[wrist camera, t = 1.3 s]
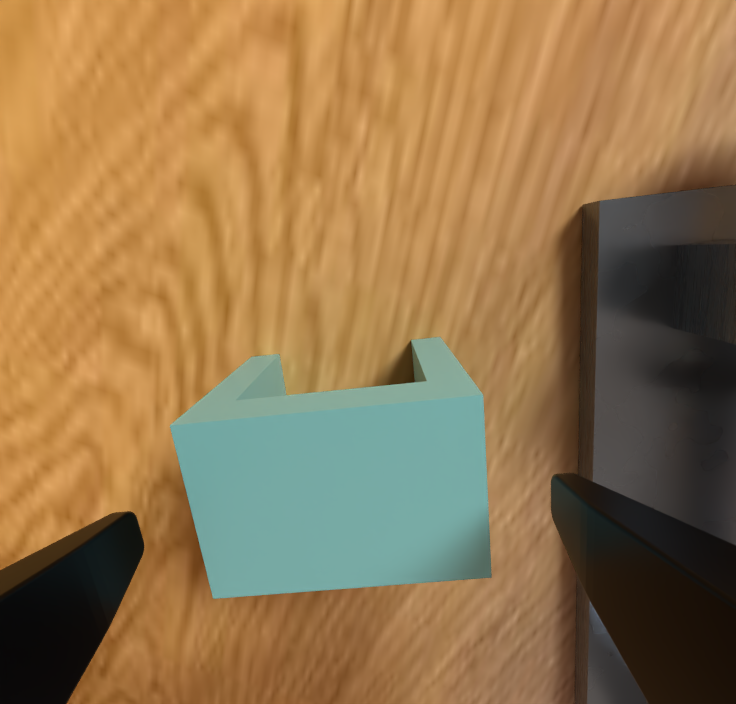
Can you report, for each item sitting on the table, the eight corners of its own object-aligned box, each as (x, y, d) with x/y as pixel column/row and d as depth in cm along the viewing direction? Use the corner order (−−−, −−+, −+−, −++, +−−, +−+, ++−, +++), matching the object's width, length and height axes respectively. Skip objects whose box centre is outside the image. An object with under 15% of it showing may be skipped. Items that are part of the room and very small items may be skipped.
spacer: (251, 356, 14) (169, 425, 9) (440, 337, 14) (483, 394, 8) (273, 471, 15) (213, 599, 10) (448, 455, 15) (491, 577, 9)
